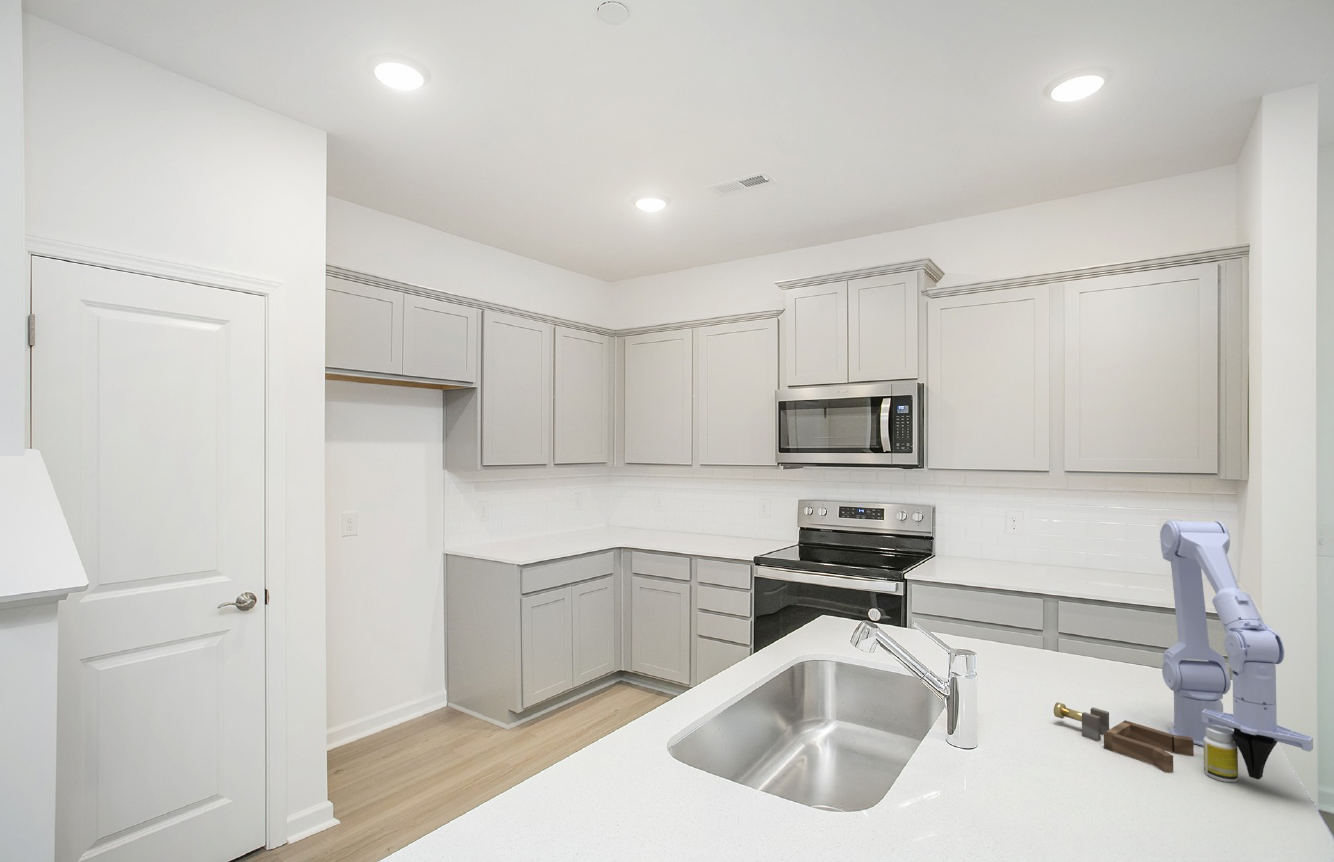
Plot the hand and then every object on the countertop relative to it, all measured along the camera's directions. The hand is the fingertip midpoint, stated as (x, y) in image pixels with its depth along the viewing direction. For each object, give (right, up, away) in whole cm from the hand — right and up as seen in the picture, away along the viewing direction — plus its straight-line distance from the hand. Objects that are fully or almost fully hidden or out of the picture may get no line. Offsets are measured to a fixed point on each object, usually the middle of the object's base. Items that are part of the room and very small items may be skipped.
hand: (1255, 776), depth 116 cm
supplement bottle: (-3, -2, +4) cm, 5 cm away
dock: (-11, -2, +15) cm, 19 cm away
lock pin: (-17, -1, +24) cm, 29 cm away
